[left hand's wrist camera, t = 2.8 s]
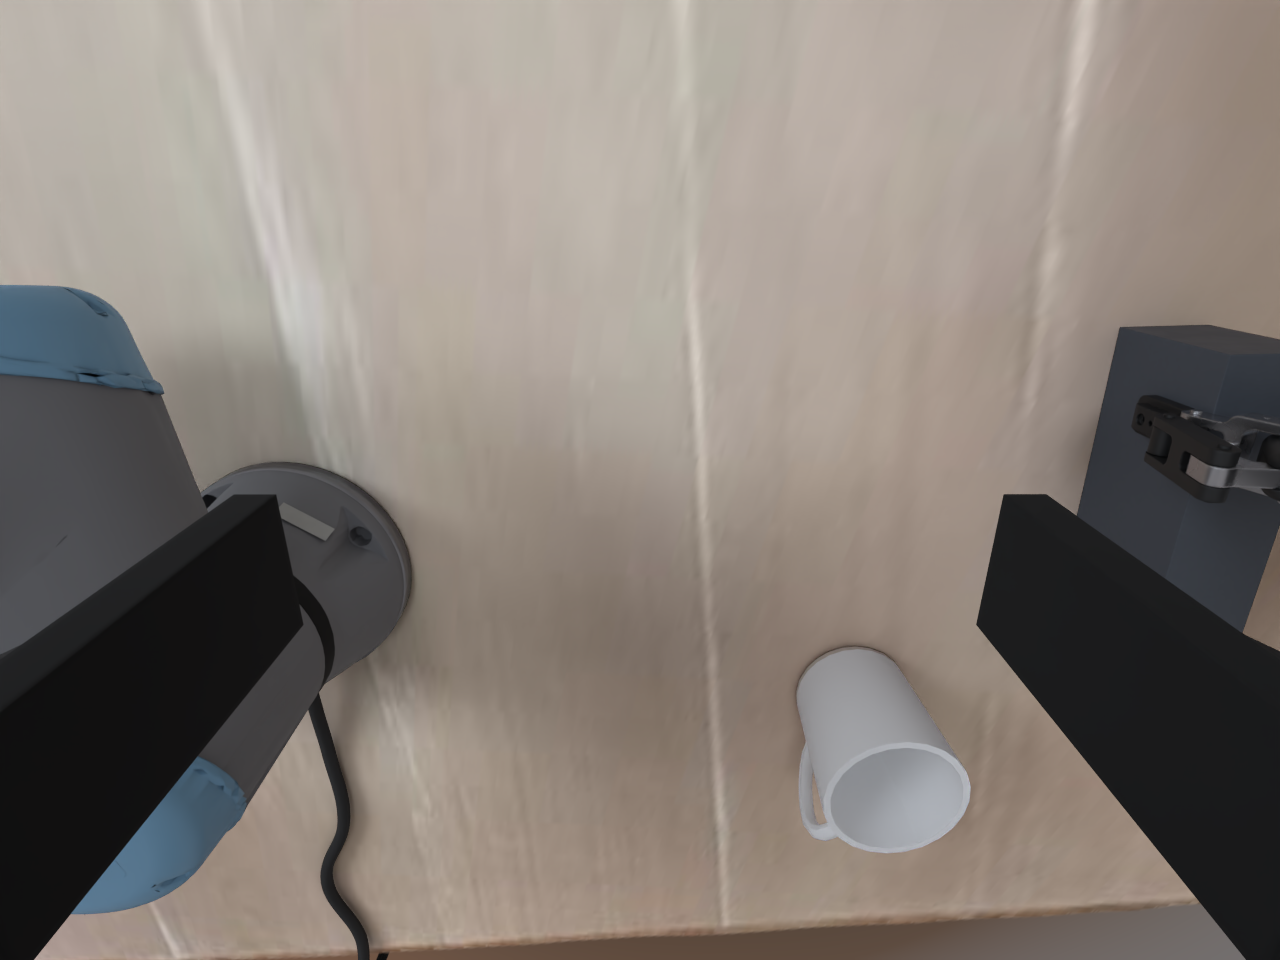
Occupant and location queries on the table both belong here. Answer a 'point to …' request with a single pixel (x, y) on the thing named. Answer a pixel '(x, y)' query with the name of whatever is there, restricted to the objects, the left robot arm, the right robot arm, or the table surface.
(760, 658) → the table surface
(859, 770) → the mug
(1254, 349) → the bar
